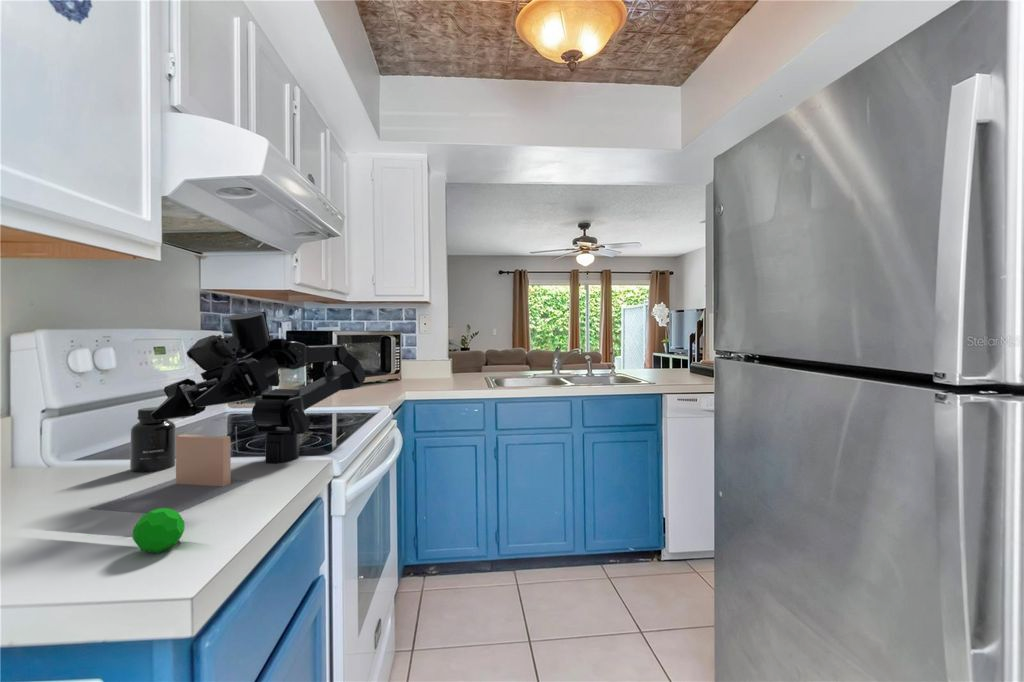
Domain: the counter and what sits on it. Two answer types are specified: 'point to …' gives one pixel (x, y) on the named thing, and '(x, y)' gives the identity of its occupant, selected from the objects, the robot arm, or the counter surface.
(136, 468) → the supplement bottle
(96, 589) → the counter surface
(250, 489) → the counter surface
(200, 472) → the tile
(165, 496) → the mat
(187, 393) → the robot arm
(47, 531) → the counter surface
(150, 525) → the polyhedron
